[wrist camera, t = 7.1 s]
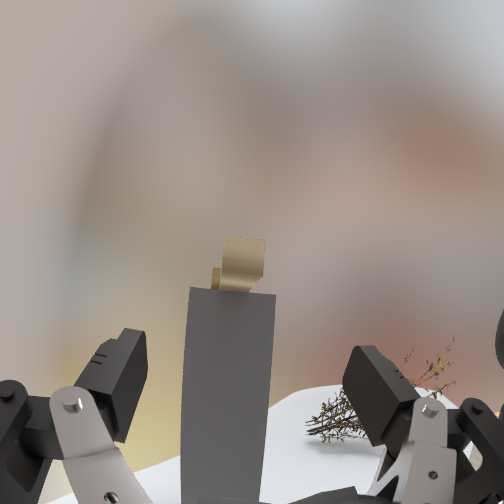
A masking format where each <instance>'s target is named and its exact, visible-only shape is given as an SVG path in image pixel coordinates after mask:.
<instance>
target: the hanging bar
mask: <svg viewBox="0 0 504 504" xmlns="http://www.w3.org/2000/svg"><path fill="white" fill-rule="evenodd" d="M264 250H265V240H261V239H253V238H243V237H234V236H225V241H224V249H223V257H222V265H221V268H213V274H212V285H211V289H214V290H224V291H235V292H246V293H249V290H250V289H251V288H252V287H253V286H254V285H255V284H256V283H257V282H258V281H259V280H260V279H261V278H262V276H263V266H264Z"/></svg>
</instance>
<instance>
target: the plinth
mask: <svg viewBox="0 0 504 504" xmlns="http://www.w3.org/2000/svg"><path fill="white" fill-rule="evenodd" d="M275 303H276V295H270V294H258V293H246V292H235V291H224V290H214V289H204V288H195V287H190V293H189V302H188V313H187V324H186V337H185V350H184V365H183V383H182V405H181V407H182V408H181V504H198V496H202V497H215V498H241V499H246V500H251V501H257V502H259V494H260V485H261V476H262V467H263V457H264V447H265V437H266V426H267V415H268V403H269V389H270V378H271V364H272V350H273V336H274V335H273V334H274V320H275V319H274V318H275Z"/></svg>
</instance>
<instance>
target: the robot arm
mask: <svg viewBox="0 0 504 504" xmlns="http://www.w3.org/2000/svg"><path fill="white" fill-rule="evenodd" d="M495 342H496V343H495V348H496V355H497V359H498V361H499V363H500V365H501V366H502V368H503V369H504V310H503V312H502V315H501V317H500V320H499V324H498V327H497V332H496V340H495ZM147 371H148V363H147V348H146V335H145V332H144V331H140V330H134V329H128V328H125V329H124V330H123V331H122V333H121V335H120V336H119V337H118V339H117V340H115V339H109V340H107V341H106V342H104V343H103V344H101V345H100V346H99V348H98V349H97V351H96V352H95V355H93V357H92V358H91V360H90V362H89V363H88V364H87V366H86V367H85V369H84V370H83V372H82V373H81V375H80V376H79V378H78V379H77V381H76V382H75V384H74V386H68V387H63V388H60V389H59V390H57V391H55V392H54V393H53V394H52V396H51V397H38V396H29V395H28V393H27V391H26V389H25V387H24V386H23V385H22V384H21V383H20V382H18V381H15V380H5V381H1V382H0V504H37V503H38V500H39V497H40V494H41V491H42V488H43V485H44V482H45V479H46V476H47V474H48V471H49V468H50V466H51V463H52V460H53V459H57V460H62V462H63V466H64V469H65V471H66V474H67V477H68V479H69V482H70V484H71V487H72V489H73V492H74V494H75V496H76V499H77V501H78V503H79V504H153V502H152V501H151V500H150V498H149V497H148V495H147V494H146V492H145V491H144V489H143V488H142V486H141V485H140V483H139V482H138V480H137V479H136V477H135V475H134V474H133V472H132V471H131V469H130V467H129V466H128V464H127V462H126V460H125V459H124V457H123V455H122V453H121V452H120V450H119V449H118V448H117V447H116V446H115V444H114V441H117V442H121V443H125V440H126V437H127V434H128V431H129V428H130V425H131V422H132V419H133V416H134V413H135V410H136V407H137V404H138V401H139V398H140V395H141V392H142V390H143V387H144V384H145V381H146V378H147ZM342 385H343V390H344V392H345V394H346V396H347V398H348V399H349V401H350V403H351V405H352V407H353V409H354V411H355V413H356V415H357V417H358V419H359V421H360V423H361V425H362V427H363V428H364V430H365V432H366V434H367V436H368V438H369V440H370V442H371V444H372V446H373V447H375V446H379V445H383V444H385V445H386V449H385V450H384V451H383V453H382V457H381V460H380V463H379V466H378V468H377V471H376V474H375V477H374V480H373V482H372V485H371V487H370V489H369V491H368V492H367V494H366V495H360V494H357V491H356V489H355V486H352V487H348V488H343V489H338V490H333V491H327V492H321V493H318V494H315V495H313V496H310V497H307V498H304V499H301V500H298V501H295V502H292V503H289V504H452V503H453V504H504V404H503V405H502V408H501V410H500V413H499V418H497V417H496V415H495V414H494V413H493V412H492V411H491V410H490V408H489V407H488V406H487V405H486V404H485V403H484V402H482V401H481V400H479V399H476V398H467V399H465V400H464V401H463V403H462V404H461V406H460V408H459V409H446V407H445V406H444V405H443V404H442V403H441V402H440V401H438V400H436V399H434V398H430V397H421V396H420V395H419V394H418V393H417V391H416V390H415V389H414V388H413V386H412V385H411V384H410V383H409V381H408V380H407V379H406V378H404V375H403V374H402V373H401V372H399V369H398V368H397V367H396V366H395V364H394V363H393V362H391V361H390V360H388V359H387V358H385V357H384V356H382V355H381V353H380V352H379V351H378V350H377V349H376V347H375V346H373V345H367V346H366V345H365V346H356V347H354V349H353V350H352V354H351V356H350V359H349V362H348V365H347V367H346V370H345V373H344V376H343V381H342ZM470 441H472V442H473V444H474V445H475V446H476V448H477V449H478V451H479V452H480V454H481V455H482V464H481V466H480V468H479V469H478V470H477V471H475V469H474V468H473V466H472V464H471V463H470V461H469V460H468V458H467V457H466V455H465V454H464V452H463V450H464V449H465V448H466V446H467V445H468V444H469V443H470ZM198 504H269V503H263V502H257V501H251V500H246V499H241V498H215V497H202V496H198Z"/></svg>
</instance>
